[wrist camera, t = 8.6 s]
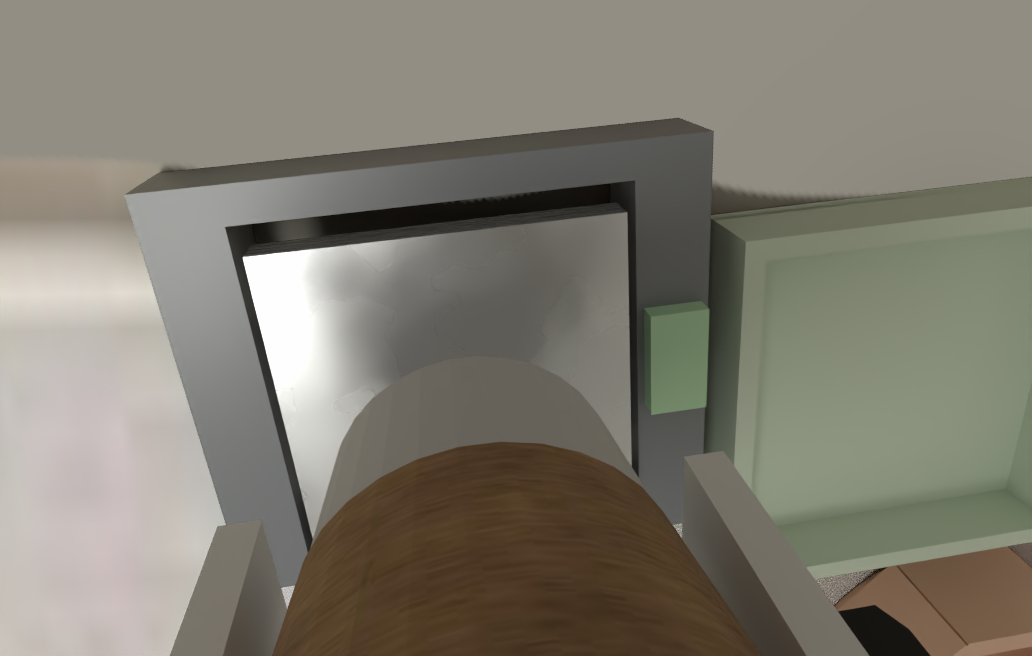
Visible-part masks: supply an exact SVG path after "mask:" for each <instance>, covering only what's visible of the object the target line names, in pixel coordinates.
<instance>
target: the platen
mask: <svg viewBox="0 0 1032 656" xmlns="http://www.w3.org/2000/svg"><path fill="white" fill-rule="evenodd" d="M243 261H244V265H245V269H246V273H247V277H248V281H249V285H250V289H251V293H252V297H253V301H254V305H255V309H256V313H257V317H258V321H259V325H260V329H261V333H262V337H263V341H264V345H265V349H266V353H267V357H268V361H269V365H270V369H271V373H272V377H273V381H274V385H275V389H276V393H277V397H278V401H279V405H280V409H281V413H282V417H283V421H284V425H285V429H286V433H287V437H288V441H289V446H290V450H291V454H292V458H293V462H294V466H295V470H296V474H297V478H298V482H299V486H300V490H301V494H302V498H303V502H304V506H305V510H306V514H307V518H308V522H309V526H310V530H311V534H312V538H313V537H314V534H315V530H316V527H317V523H318V520H319V516H320V513H321V510H322V506H323V503H324V499H325V496H326V492H327V489H328V485H329V482H330V478H331V475H332V472H333V468H334V465H335V461H336V458H337V455H338V452H339V448H340V445H341V443H342V440H343V439H344V437H345V435H346V433H347V431H348V430H349V428H350V426H351V424H352V422H353V421H354V419H355V417H356V416H357V415H358V414H359V413H360V412H361V411H362V410H363V408H364V407H365V406H366V405H367V404H368V403H369V402H370V401H371V399H372V398H373V397H375V396H376V395H377V394H379V393H380V392H381V391H383V390H384V389H385V388H387V387H388V386H389V385H391V384H392V383H393V382H394V381H396V380H398V379H400V378H402V377H404V376H406V375H408V374H410V373H412V372H414V371H416V370H418V369H420V368H422V367H425V366H429V365H432V364H435V363H439V362H442V361H445V360H449V359H456V358H465V357H475V356H485V357H500V358H510V359H514V360H518V361H522V362H525V363H529V364H533V365H536V366H538V367H541V368H543V369H545V370H547V371H549V372H551V373H553V374H555V375H558V376H559V377H561V378H562V379H563V380H565V381H566V382H567V383H569V384H570V385H571V386H573V387H574V388H575V389H577V390H578V391H579V392H580V393H581V394H582V395H583V397H584V398H585V399H586V400H587V401H588V403H589V404H590V405H591V406H592V407H593V408H594V410H595V411H596V412H597V414H598V415H599V416H600V418H601V419H602V421H603V422H604V424H605V426H606V427H607V429H608V430H609V432H610V433H611V435H612V436H613V438H614V440H615V441H616V443H617V444H618V446H619V448H620V449H621V451H622V452H623V454H624V455H625V457H626V459H627V460H628V462H629V463H630V465H631V467H632V455H631V397H630V339H629V280H628V222H627V211H625V210H624V209H623V208H622V207H621V206H620V205H619V204H618V203H616V202H615V203H606V204H597V205H589V206H580V207H571V208H563V209H554V210H546V211H537V212H528V213H520V214H511V215H503V216H494V217H485V218H477V219H468V220H459V221H451V222H442V223H434V224H425V225H416V226H408V227H399V228H391V229H382V230H373V231H365V232H356V233H348V234H339V235H330V236H322V237H313V238H304V239H296V240H287V241H279V242H270V243H261V244H253V245H251V246H250V247H249V249H248V250H247V252H246V253H245V255H244V256H243Z"/></svg>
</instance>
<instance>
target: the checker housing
mask: <svg viewBox="0 0 1032 656" xmlns="http://www.w3.org/2000/svg"><path fill="white" fill-rule="evenodd" d="M712 161H713V131H712V130H709V129H706V128H704V127H701V126H699V125H696V124H693V123H691V122H688V121H685V120H683V119H680V118H673V119H664V120H655V121H646V122H635V123H626V124H618V125H607V126H598V127H588V128H579V129H570V130H560V131H551V132H541V133H531V134H522V135H512V136H503V137H494V138H484V139H475V140H465V141H456V142H447V143H437V144H428V145H418V146H408V147H400V148H390V149H380V150H371V151H362V152H351V153H343V154H332V155H323V156H314V157H304V158H295V159H285V160H276V161H266V162H257V163H247V164H238V165H229V166H219V167H209V168H200V169H190V170H181V171H172V172H162V173H158V174H156V175H154V176H153V177H151V178H150V179H148V180H147V181H145V182H144V183H142V184H140V185H139V186H137V187H136V188H134V189H133V190H131V191H130V192H128V193H126V194H125V195H124V196H125V199H126V202H127V205H128V208H129V212H130V215H131V218H132V221H133V225H134V228H135V231H136V234H137V238H138V241H139V244H140V247H141V251H142V254H143V257H144V260H145V264H146V267H147V270H148V273H149V277H150V280H151V283H152V286H153V290H154V293H155V296H156V299H157V303H158V306H159V309H160V312H161V316H162V319H163V322H164V325H165V328H166V332H167V335H168V338H169V341H170V345H171V348H172V351H173V354H174V358H175V361H176V364H177V367H178V371H179V374H180V377H181V380H182V384H183V387H184V390H185V393H186V397H187V400H188V403H189V406H190V410H191V413H192V416H193V419H194V423H195V426H196V429H197V432H198V436H199V439H200V442H201V445H202V448H203V452H204V455H205V458H206V461H207V465H208V468H209V471H210V474H211V478H212V481H213V484H214V487H215V491H216V494H217V497H218V500H219V504H220V507H221V510H222V513H223V517H224V520H225V523H226V525H231V524H238V523H245V522H251V521H258V520H262V523H263V526H264V530H265V533H266V537H267V540H268V544H269V547H270V551H271V554H272V558H273V561H274V565H275V568H276V572H277V575H278V579H279V583H280V586H281V587H287V586H293V585H296V582H297V579H298V576H299V573H300V570H301V567H302V564H303V561H304V559H305V557H306V555H307V554H308V552H309V550H310V548H311V544H312V541H313V538H312V534H311V530H310V526H309V522H308V518H307V514H306V510H305V506H304V502H303V498H302V494H301V490H300V486H299V482H298V478H297V474H296V470H295V466H294V462H293V458H292V454H291V450H290V446H289V441H288V437H287V433H286V429H285V425H284V421H283V417H282V413H281V409H280V405H279V401H278V397H277V393H276V389H275V385H274V381H273V377H272V373H271V369H270V365H269V361H268V357H267V353H266V349H265V345H264V341H263V337H262V333H261V329H260V325H259V321H258V317H257V313H256V309H255V305H254V301H253V297H252V293H251V289H250V285H249V281H248V277H247V273H246V269H245V265H244V261H243V256H244V255H245V253H246V252H247V250H248V249H249V247H250V246H251V245H253V244H256V241H255V237H254V232H253V228H252V224H255V223H264V222H273V221H282V220H291V219H300V218H308V217H317V216H326V215H335V214H344V213H352V212H361V211H370V210H379V209H388V208H397V207H405V206H414V205H423V204H432V203H441V202H449V201H458V200H467V199H476V198H485V197H493V196H502V195H511V194H520V193H529V192H538V191H546V190H555V189H564V188H573V187H582V186H590V185H599V184H608V183H610V196H611V203H615V202H616V203H618V204H619V205H620V206H621V207H622V208H623V209H624V210H625V211H627V222H628V280H629V339H630V397H631V455H632V468H633V470H634V471H635V473H636V475H637V476H638V478H639V479H640V481H641V482H642V484H643V486H644V487H645V489H646V490H647V492H648V494H649V495H650V497H651V498H652V499H653V500H654V501H655V503H656V504H657V505H658V506H659V507H660V508H661V510H662V511H663V512H664V514H665V515H666V516H667V518H668V519H669V521H670V522H671V524H672V525H673V524H679V523H683V480H684V457H686V456H692V455H699V454H703V447H704V416H705V407H706V402H707V372H708V341H709V311H710V309H709V308H708V290H709V258H710V227H711V195H712V164H713V163H712Z"/></svg>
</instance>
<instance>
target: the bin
mask: <svg viewBox="0 0 1032 656" xmlns="http://www.w3.org/2000/svg"><path fill="white" fill-rule="evenodd" d="M871 605H876V606H877V607H879V608H880V609H882V610H883V611H884V612H886V613H887V614H889V615H890V616H891V617H893V618H894V619H896V620H897V621H898V622H900V623H901V624H903V625H904V626H905V627H907V628H908V629H909V630H910V631H911V632H912V633H913V634H914V636H915V637H916V638H917V639H918V641H919V642H920V643H921V644H922V646H923V647H924V648H925V649H926V651H927V652H928V653H929V654H930V655H931V656H1032V567H1031V566H1030V565H1029V564H1028V563H1027V562H1026V561H1024V560H1023V559H1022V558H1021V557H1020V556H1019V555H1018V554H1016V553H1015V552H1014V551H1013V550H1012V549H1011V548H1009V547H1008V546H1006V547H1001V548H995V549H989V550H983V551H977V552H971V553H966V554H960V555H954V556H948V557H942V558H936V559H931V560H925V561H919V562H913V563H907V564H901V565H896V566H890V567H887V568H885V569H883V570H881V571H879V572H878V573H876V574H874V575H873V576H871V577H870V578H868V579H867V580H865V581H864V582H862V583H861V584H859V585H858V586H857V587H855V588H854V589H853V590H852V591H850V592H849V593H848V594H847V595H845V596H844V597H843V598H842V599H841V600H840V601H839V602H838V603H837V604H836V605H835V606H834V607H835V608H836V610H837V611H842V610H848V609H854V608H860V607H866V606H871Z"/></svg>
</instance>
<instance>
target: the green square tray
mask: <svg viewBox="0 0 1032 656" xmlns="http://www.w3.org/2000/svg"><path fill="white" fill-rule="evenodd" d="M708 308H709V309H710V311H709V341H708V372H707V402H706V407H705V416H704V447H703V454H706V453H712V452H719V451H724V453H725V454H726V456H727V457H728V458H729V460H730V461H731V463H732V464H733V465H734V467H735V468H736V470H737V471H738V472H739V474H740V475H741V477H742V478H743V479H744V481H745V482H746V484H747V485H748V486H749V488H750V489H751V491H752V492H753V493H754V495H755V496H756V498H757V499H758V500H759V502H760V503H761V505H762V506H763V507H764V509H765V510H766V512H767V513H768V514H769V516H770V517H771V519H772V520H773V521H774V523H775V524H776V526H777V527H778V528H779V530H780V531H781V533H782V534H783V535H784V537H785V538H786V540H787V541H788V542H789V544H790V545H791V547H792V548H793V549H794V551H795V552H796V554H797V555H798V556H799V558H800V559H801V561H802V562H803V563H804V565H805V566H806V568H807V569H808V570H809V572H810V573H811V575H812V576H813V577H814V579H820V578H826V577H831V576H837V575H843V574H849V573H855V572H861V571H866V570H872V569H878V568H884V567H890V566H896V565H901V564H907V563H913V562H919V561H925V560H931V559H936V558H942V557H948V556H954V555H960V554H966V553H971V552H977V551H983V550H989V549H995V548H1001V547H1006V546H1012V545H1018V544H1024V543H1030V542H1032V177H1026V178H1019V179H1010V180H1001V181H993V182H984V183H976V184H967V185H959V186H951V187H942V188H934V189H925V190H917V191H909V192H900V193H892V194H883V195H875V196H867V197H858V198H850V199H842V200H833V201H825V202H816V203H808V204H800V205H791V206H783V207H774V208H766V209H758V210H749V211H741V212H733V213H724V214H716V215H711V227H710V258H709V290H708Z"/></svg>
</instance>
